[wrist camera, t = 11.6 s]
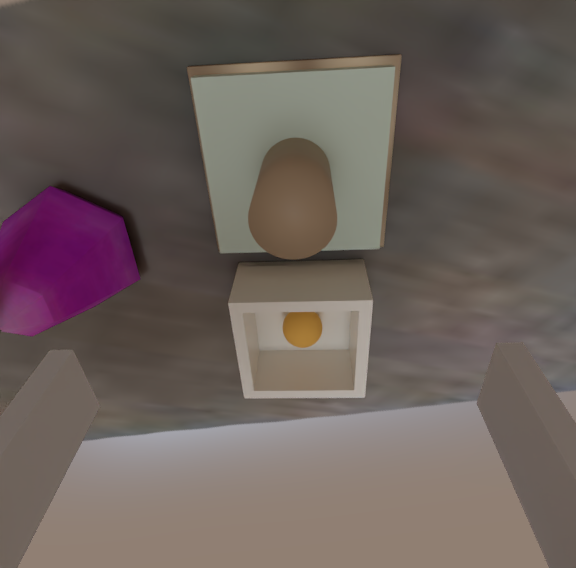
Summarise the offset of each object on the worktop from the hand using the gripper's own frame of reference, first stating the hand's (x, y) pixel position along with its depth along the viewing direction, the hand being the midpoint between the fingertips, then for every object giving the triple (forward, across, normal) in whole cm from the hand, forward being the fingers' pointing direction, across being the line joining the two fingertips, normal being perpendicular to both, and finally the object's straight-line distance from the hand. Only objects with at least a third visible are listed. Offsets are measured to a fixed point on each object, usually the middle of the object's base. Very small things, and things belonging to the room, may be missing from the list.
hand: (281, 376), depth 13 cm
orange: (+19, 0, -14) cm, 23 cm away
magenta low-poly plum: (+22, -19, -6) cm, 29 cm away
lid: (+21, 0, 0) cm, 21 cm away
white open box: (+21, 0, -14) cm, 25 cm away
